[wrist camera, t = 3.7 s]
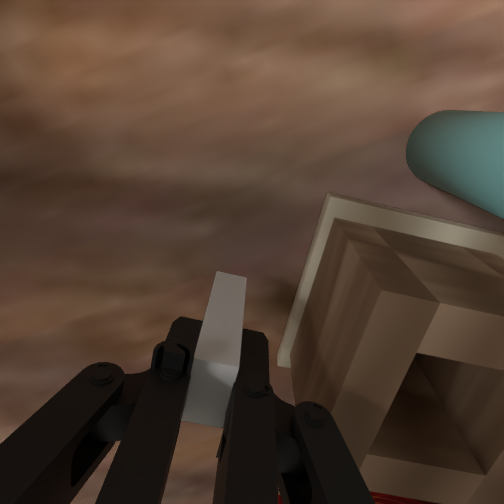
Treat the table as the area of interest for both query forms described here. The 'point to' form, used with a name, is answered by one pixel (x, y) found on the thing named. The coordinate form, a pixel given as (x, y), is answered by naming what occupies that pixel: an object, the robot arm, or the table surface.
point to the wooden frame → (387, 220)
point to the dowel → (462, 156)
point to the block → (409, 361)
